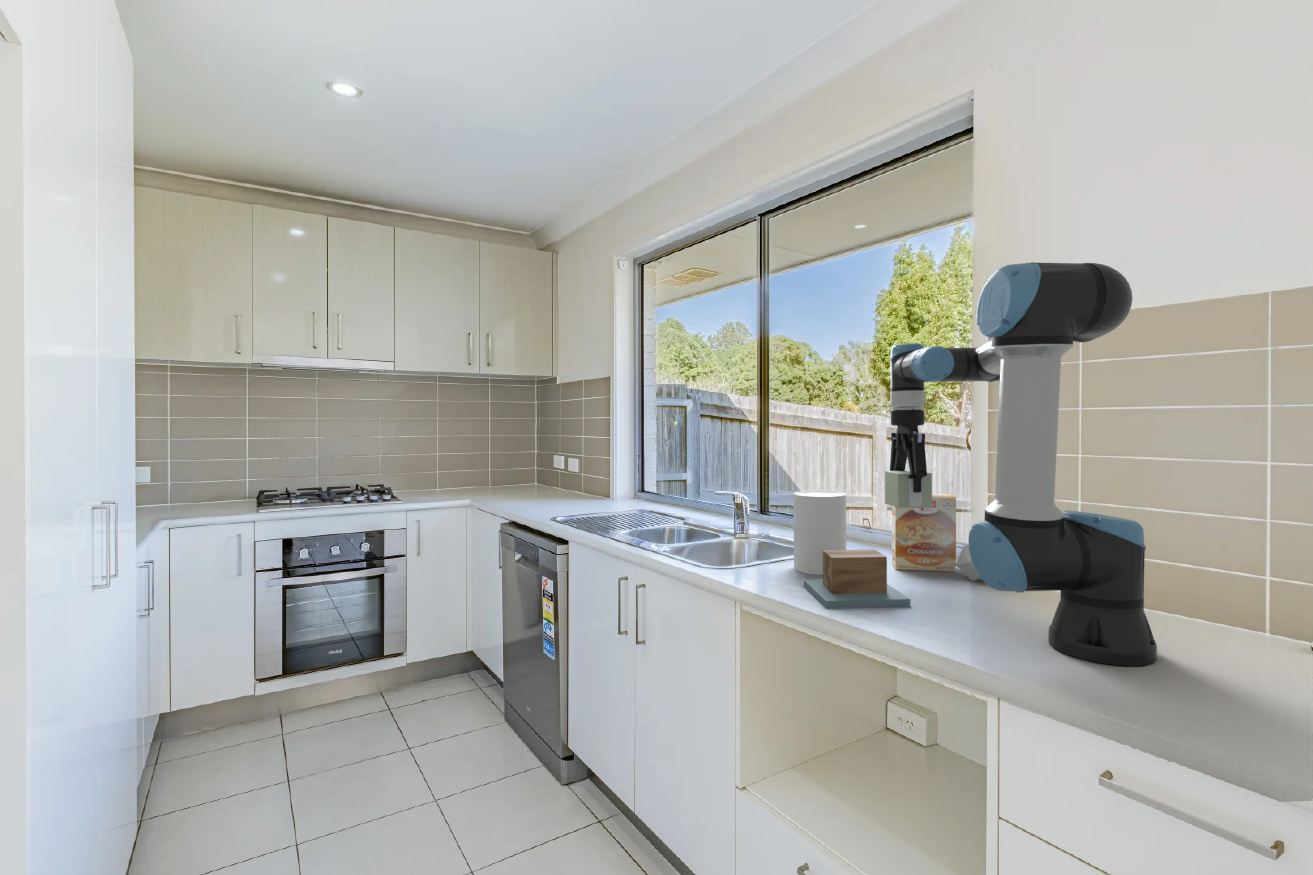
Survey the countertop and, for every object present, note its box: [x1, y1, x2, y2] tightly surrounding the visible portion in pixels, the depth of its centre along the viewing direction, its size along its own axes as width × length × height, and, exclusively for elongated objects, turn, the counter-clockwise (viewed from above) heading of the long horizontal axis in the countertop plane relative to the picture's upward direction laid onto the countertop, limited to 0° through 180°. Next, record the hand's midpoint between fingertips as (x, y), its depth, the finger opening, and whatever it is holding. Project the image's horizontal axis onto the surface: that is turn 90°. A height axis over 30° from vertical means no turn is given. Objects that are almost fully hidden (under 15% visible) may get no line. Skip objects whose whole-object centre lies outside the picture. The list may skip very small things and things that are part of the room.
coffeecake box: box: [891, 493, 957, 573], centre depth 168 cm, size 15×7×20 cm, turn 77°
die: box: [956, 545, 983, 582], centre depth 156 cm, size 8×9×10 cm
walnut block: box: [822, 548, 888, 594], centre depth 143 cm, size 8×12×8 cm, turn 90°
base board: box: [802, 578, 911, 609], centre depth 143 cm, size 18×18×2 cm
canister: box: [793, 490, 847, 576], centre depth 169 cm, size 14×14×20 cm
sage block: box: [884, 470, 933, 508], centre depth 153 cm, size 8×8×8 cm
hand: (907, 503), depth 153 cm, fingers closed on sage block, 8 cm apart
